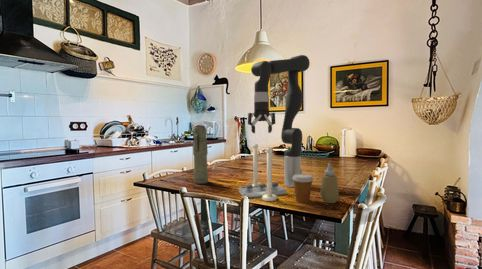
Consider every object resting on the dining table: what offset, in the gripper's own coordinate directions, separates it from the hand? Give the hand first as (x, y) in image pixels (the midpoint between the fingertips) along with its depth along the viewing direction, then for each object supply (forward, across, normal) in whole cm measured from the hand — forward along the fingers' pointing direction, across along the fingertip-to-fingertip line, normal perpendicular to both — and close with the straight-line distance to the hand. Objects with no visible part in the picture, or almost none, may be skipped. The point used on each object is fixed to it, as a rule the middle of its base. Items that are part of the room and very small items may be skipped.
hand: (261, 133), depth 142 cm
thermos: (+32, +28, -34) cm, 54 cm away
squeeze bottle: (+32, -25, +23) cm, 46 cm away
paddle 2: (+28, -7, 0) cm, 28 cm away
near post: (+32, 0, +11) cm, 33 cm away
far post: (+32, 0, -11) cm, 33 cm away
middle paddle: (+28, 0, 0) cm, 28 cm away
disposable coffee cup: (+32, -14, +18) cm, 39 cm away
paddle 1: (+28, +7, 0) cm, 28 cm away
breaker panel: (+32, 0, 0) cm, 32 cm away
